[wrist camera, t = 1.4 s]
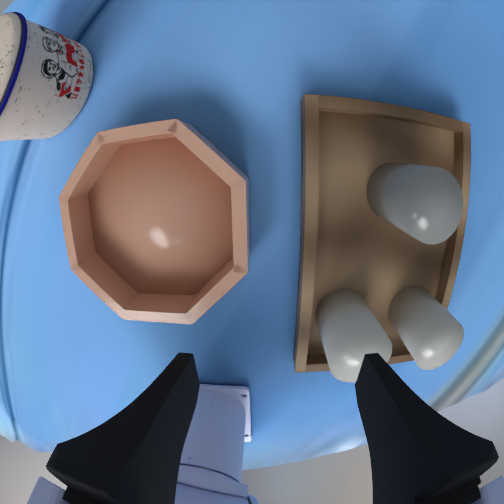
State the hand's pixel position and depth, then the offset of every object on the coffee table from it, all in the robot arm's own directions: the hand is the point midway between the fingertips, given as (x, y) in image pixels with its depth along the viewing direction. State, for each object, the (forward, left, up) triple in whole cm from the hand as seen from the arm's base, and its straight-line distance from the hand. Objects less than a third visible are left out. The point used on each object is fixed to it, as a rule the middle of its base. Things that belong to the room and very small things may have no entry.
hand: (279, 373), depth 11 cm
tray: (+2, -8, -10) cm, 13 cm away
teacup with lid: (+17, +18, -10) cm, 27 cm away
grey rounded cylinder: (+6, -8, -9) cm, 14 cm away
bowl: (+4, +8, -10) cm, 13 cm away
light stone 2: (-3, -11, -9) cm, 15 cm away
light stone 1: (-3, -5, -9) cm, 11 cm away
